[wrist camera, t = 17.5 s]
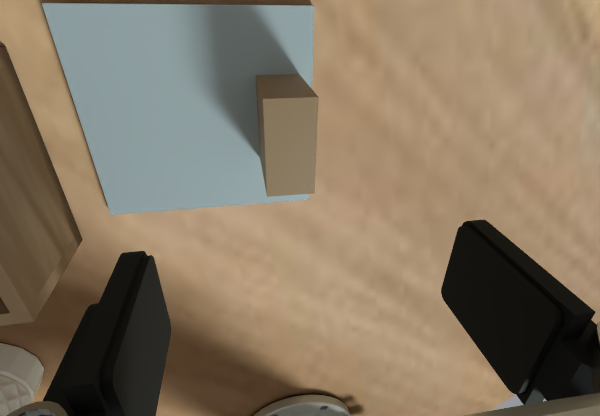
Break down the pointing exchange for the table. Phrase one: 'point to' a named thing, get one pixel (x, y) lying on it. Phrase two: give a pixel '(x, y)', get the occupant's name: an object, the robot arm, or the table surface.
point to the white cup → (18, 378)
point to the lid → (192, 101)
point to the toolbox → (28, 209)
